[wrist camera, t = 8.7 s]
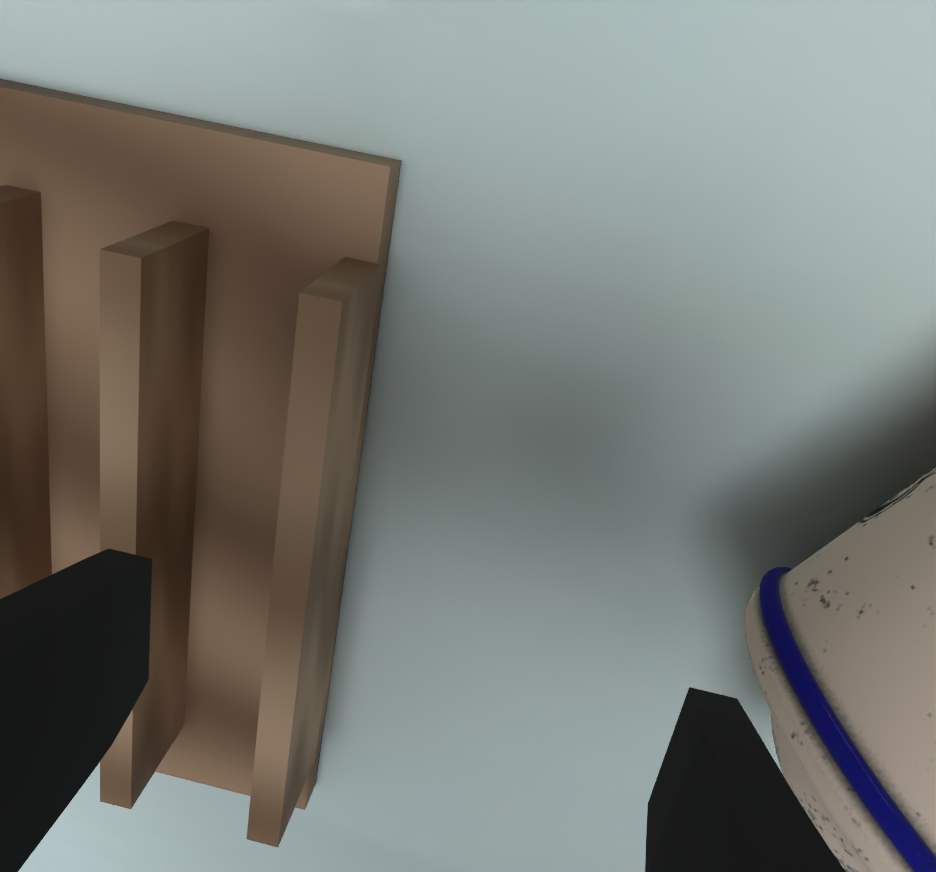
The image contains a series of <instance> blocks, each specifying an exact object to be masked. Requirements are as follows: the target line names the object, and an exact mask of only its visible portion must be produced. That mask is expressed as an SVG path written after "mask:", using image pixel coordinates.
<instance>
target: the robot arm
mask: <svg viewBox="0 0 936 872" xmlns="http://www.w3.org/2000/svg"><path fill="white" fill-rule="evenodd" d="M151 581H152V559H151V558H147V557H143V556H138V555H134V554H130V553H126V552H122V551H118V550H113V549H106V550H104V551H102V552H99V553H97V554H94V555H92V556H90V557H88V558H86V559H83V560H81V561H79V562H77V563H75V564H73V565H71V566H69V567H66V568H64V569H62V570H60V571H58V572H56V573H54V574H52V575H50V576H48V577H46V578H44V579H41V580H39V581H37V582H35V583H33V584H31V585H29V586H27V587H25V588H23V589H21V590H19V591H16V592H14V593H12V594H10V595H8V596H6V597H4V598H2V599H0V872H18V871H19V869H20V868H21V867H22V865H23V864H24V863H25V861H26V860H27V859H28V857H29V856H30V855H31V853H32V852H33V851H34V849H35V848H36V847H37V845H38V844H39V843H40V841H41V840H42V839H43V837H44V836H45V835H46V833H47V832H48V831H49V829H50V828H51V827H52V825H53V824H54V823H55V821H56V820H57V819H58V817H59V816H60V815H61V813H62V812H63V811H64V809H65V808H66V807H67V805H68V804H69V803H70V801H71V800H72V799H73V797H74V796H75V795H76V793H77V792H78V791H79V789H80V788H81V787H82V785H83V784H84V783H85V781H86V780H87V778H88V777H89V776H90V774H91V773H92V772H93V770H94V769H95V768H96V766H97V765H98V764H99V762H100V761H101V759H102V758H103V757H104V755H105V754H106V752H107V751H108V750H109V748H110V747H111V746H112V744H113V742H114V740H115V739H116V737H117V735H118V734H119V732H120V730H121V728H122V727H123V725H124V723H125V722H126V720H127V718H128V716H129V715H130V713H131V711H132V709H133V707H134V705H135V704H136V702H137V700H138V698H139V696H140V694H141V693H142V691H143V689H144V687H145V685H146V684H147V682H148V680H149V653H150V617H151ZM645 872H846V871H845V870H844V869H843V867H842V866H841V864H840V863H839V861H838V860H837V858H836V857H835V855H834V854H833V853H832V851H831V850H830V848H829V847H828V845H827V844H826V842H825V841H824V839H823V838H822V836H821V834H820V833H819V831H818V830H817V828H816V827H815V825H814V824H813V822H812V821H811V819H810V818H809V816H808V814H807V813H806V811H805V810H804V808H803V807H802V805H801V804H800V802H799V800H798V799H797V797H796V796H795V794H794V792H793V791H792V789H791V788H790V786H789V784H788V783H787V781H786V779H785V778H784V776H783V774H782V773H781V771H780V769H779V768H778V766H777V764H776V763H775V761H774V759H773V758H772V756H771V754H770V753H769V751H768V749H767V748H766V746H765V744H764V743H763V741H762V739H761V738H760V736H759V734H758V733H757V731H756V729H755V728H754V726H753V724H752V722H751V721H750V719H749V718H748V716H747V714H746V713H745V711H744V709H743V708H742V706H741V704H740V703H739V701H738V699H736V698H732V697H728V696H724V695H719V694H715V693H711V692H707V691H703V690H699V689H694V688H690V687H689V690H688V693H687V695H686V698H685V701H684V704H683V707H682V709H681V712H680V715H679V718H678V721H677V723H676V726H675V729H674V732H673V735H672V737H671V740H670V743H669V746H668V749H667V752H666V754H665V757H664V760H663V763H662V766H661V768H660V771H659V774H658V777H657V780H656V782H655V785H654V788H653V791H652V794H651V797H650V799H649V802H648V814H647V836H646V866H645Z"/></svg>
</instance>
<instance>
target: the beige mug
mask: <svg viewBox="0 0 936 872" xmlns="http://www.w3.org/2000/svg"><path fill="white" fill-rule="evenodd" d="M744 624H745V637H746V643H747V648H748V652H749V656H750V659H751V663H752V666H753V668H754V671H755V674H756V677H757V680H758V682H759V685H760V687H761V690H762V692H763V695H764V697H765V699H766V701H767V704H768V706H769V708H770V710H771V721H772V734H773V739H774V744H775V749H776V754H777V758H778V761H779V764H780V767H781V770H782V772H783V775H784V777H785V779H786V781H787V783H788V784H789V786H790V788H791V789H792V791H793V792H794V794H795V796H796V797H797V799H798V800H799V802H800V804H801V805H802V807H803V808H804V810H805V811H806V813H807V814H808V816H809V818H810V819H811V821H812V822H813V824H814V825H815V827H816V828H817V830H818V831H819V833H820V834H821V836H822V838H823V839H824V841H825V842H826V844H827V845H828V847H829V848H830V850H831V851H832V853H833V854H834V855H835V857H836V858H837V860H838V861H839V863H840V864H841V866H842V867H843V869H844V870H845V871H846V872H936V467H934V468H933V469H932V470H930V471H929V472H927V473H926V474H925V475H923V476H922V477H920V478H919V479H918V480H916V481H915V482H913V483H912V484H911V485H909V486H908V487H906V488H905V489H904V490H902V491H901V492H899V493H898V494H897V495H895V496H894V497H893V498H891V499H890V500H888V501H887V502H886V503H884V504H883V505H881V506H880V507H879V508H877V509H876V510H874V511H873V512H872V513H870V514H869V515H867V516H866V517H865V518H863V519H862V520H860V521H859V522H858V523H856V524H855V525H853V526H852V527H851V528H849V529H848V530H846V531H845V532H844V533H842V534H841V535H839V536H838V537H837V538H835V539H834V540H832V541H831V542H830V543H828V544H827V545H826V546H824V547H823V548H821V549H820V550H819V551H817V552H816V553H814V554H813V555H812V556H810V557H809V558H807V559H806V560H805V561H803V562H802V563H800V564H799V565H798V566H796V567H795V568H793V569H791V568H786V567H777V568H774V569H772V570H770V571H768V572H767V573H766V574H765V576H764V577H763V578H762V581H761V584H760V587H757V589H756V590H755V591H754V592H753V593H752V596H751V598H750V600H749V603H748V606H747V609H746V613H745V623H744Z"/></svg>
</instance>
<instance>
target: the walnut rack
mask: <svg viewBox="0 0 936 872" xmlns="http://www.w3.org/2000/svg"><path fill="white" fill-rule="evenodd" d="M400 166H401V161H399V160H394V159H389V158H384V157H379V156H374V155H369V154H364V153H360V152H355V151H350V150H345V149H340V148H335V147H330V146H325V145H320V144H316V143H311V142H306V141H301V140H296V139H291V138H286V137H281V136H276V135H271V134H267V133H262V132H257V131H252V130H247V129H242V128H237V127H232V126H227V125H222V124H218V123H213V122H208V121H203V120H198V119H193V118H188V117H183V116H178V115H174V114H169V113H164V112H159V111H154V110H149V109H144V108H139V107H134V106H129V105H125V104H120V103H115V102H110V101H105V100H100V99H95V98H90V97H85V96H80V95H76V94H71V93H66V92H61V91H56V90H51V89H46V88H41V87H36V86H31V85H27V84H22V83H17V82H12V81H7V80H2V79H0V599H2V598H4V597H6V596H8V595H10V594H12V593H14V592H16V591H19V590H21V589H23V588H25V587H27V586H29V585H31V584H33V583H35V582H37V581H39V580H41V579H44V578H46V577H48V576H50V575H52V574H54V573H56V572H58V571H60V570H62V569H64V568H66V567H69V566H71V565H73V564H75V563H77V562H79V561H81V560H83V559H86V558H88V557H90V556H92V555H94V554H97V553H99V552H102V551H104V550H106V549H113V550H118V551H122V552H126V553H130V554H134V555H138V556H143V557H147V558H151V559H152V581H151V617H150V653H149V680H148V682H147V684H146V685H145V687H144V689H143V691H142V693H141V694H140V696H139V698H138V700H137V702H136V704H135V705H134V707H133V709H132V711H131V713H130V715H129V716H128V718H127V720H126V722H125V723H124V725H123V727H122V728H121V730H120V732H119V734H118V735H117V737H116V739H115V740H114V742H113V744H112V746H111V747H110V748H109V750H108V751H107V752H106V754H105V755H104V757H103V758H102V759H101V761H100V801H101V802H105V803H109V804H113V805H117V806H121V807H124V808H128V809H131V808H132V807H133V805H134V803H135V802H136V800H137V799H138V797H139V796H140V794H141V792H142V791H143V789H144V788H145V786H146V785H147V783H148V781H149V780H150V778H151V777H152V775H153V774H154V772H159V773H163V774H167V775H171V776H175V777H179V778H183V779H186V780H190V781H194V782H198V783H202V784H206V785H210V786H214V787H218V788H222V789H226V790H229V791H233V792H237V793H241V794H245V795H249V796H251V800H250V810H249V820H248V831H247V839H248V840H252V841H256V842H260V843H263V844H267V845H271V846H275V847H278V846H279V844H280V841H281V839H282V836H283V834H284V832H285V829H286V827H287V825H288V822H289V820H290V817H291V815H292V813H293V810H294V808H295V807H296V808H300V809H304V810H305V808H306V806H307V803H308V801H309V799H310V796H311V794H312V791H313V789H314V786H315V784H316V777H317V770H318V763H319V755H320V748H321V741H322V733H323V726H324V719H325V712H326V704H327V697H328V690H329V683H330V675H331V668H332V661H333V653H334V646H335V639H336V632H337V624H338V617H339V610H340V602H341V595H342V588H343V581H344V573H345V566H346V559H347V551H348V544H349V537H350V530H351V522H352V515H353V508H354V500H355V493H356V486H357V479H358V471H359V464H360V457H361V450H362V442H363V435H364V428H365V420H366V413H367V406H368V399H369V391H370V384H371V377H372V369H373V362H374V355H375V348H376V340H377V333H378V326H379V318H380V311H381V304H382V297H383V289H384V282H385V275H386V267H387V260H388V253H389V246H390V238H391V231H392V224H393V217H394V209H395V202H396V195H397V187H398V180H399V173H400Z"/></svg>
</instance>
